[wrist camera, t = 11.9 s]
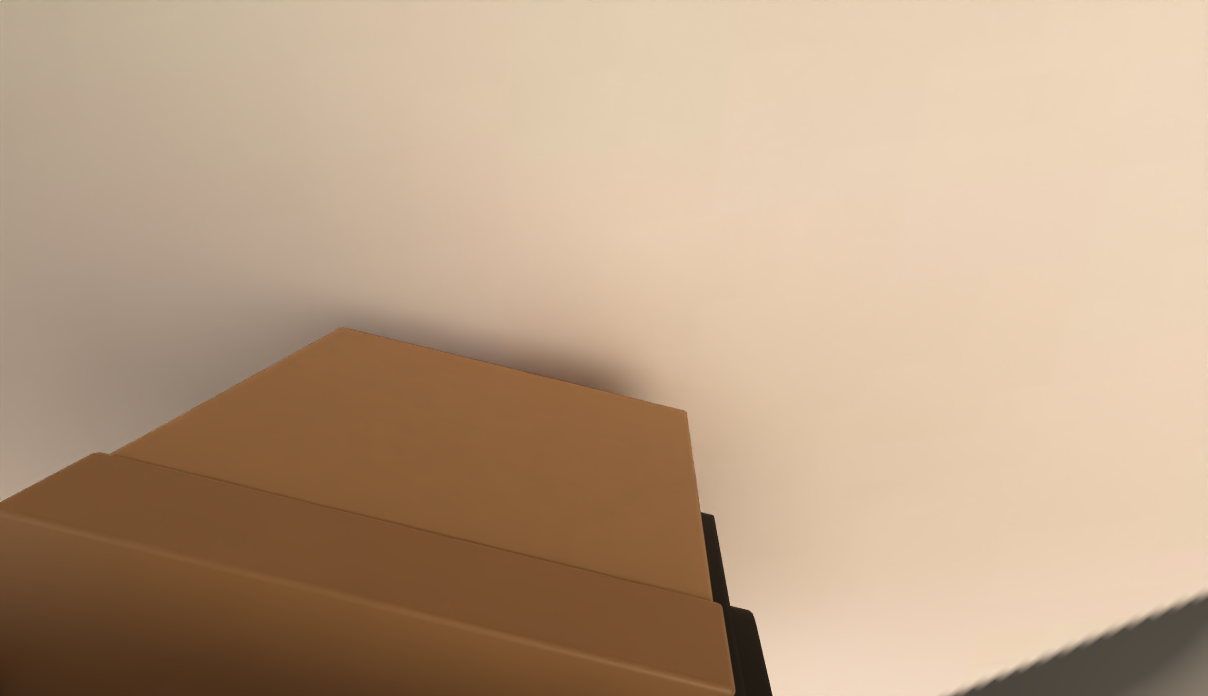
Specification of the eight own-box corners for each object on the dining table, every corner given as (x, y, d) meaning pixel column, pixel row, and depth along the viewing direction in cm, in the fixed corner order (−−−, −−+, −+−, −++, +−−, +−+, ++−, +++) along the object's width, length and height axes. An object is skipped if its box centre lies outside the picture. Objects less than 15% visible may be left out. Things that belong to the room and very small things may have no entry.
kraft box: (338, 321, 10) (-16, 507, 5) (692, 408, 10) (739, 691, 5) (305, 615, 12) (15, 999, 6) (608, 689, 12) (572, 1137, 6)
